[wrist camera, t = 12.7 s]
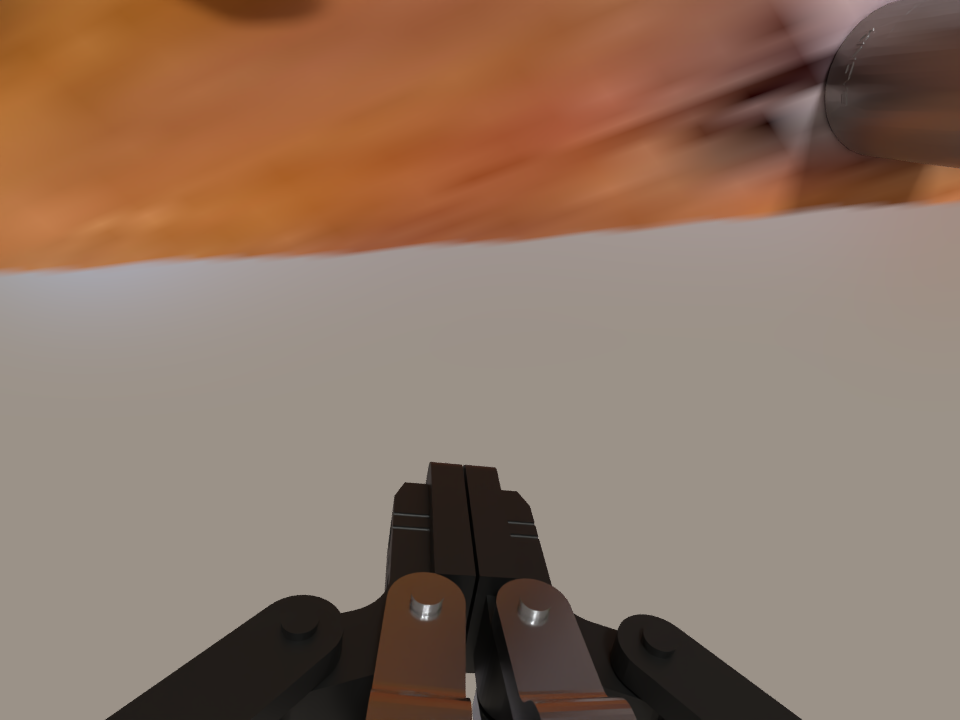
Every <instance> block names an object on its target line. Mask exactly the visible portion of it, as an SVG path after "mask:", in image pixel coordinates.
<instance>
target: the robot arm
mask: <svg viewBox="0 0 960 720" xmlns="http://www.w3.org/2000/svg"><path fill="white" fill-rule="evenodd" d="M825 106H826V114H827V118H828V121H829V124H830V126H831V129H832V131H833V132H834V134H835V135H836V137H837V138H838V140H839V141H840V142H841V143H842V144H844V145H845V146H846V147H847V148H848V149H850V150H852V151H854V152H856V153H858V154H861V155H866V156H872V157H879V158H887V159H894V160H902V161H908V162H915V163H923V164H930V165H938V166H946V167H953V168H960V0H899V1H896V2H892V3H889V4H887V5H885V6H883V7H881V8H879V9H877V10H875V11H874V12H872V13H871V14H870V15H868V16H867V17H866V18H865V19H863V20H862V21H861V22H860V23H859V24H858V25H857V26H856V27H855V28H854V29H853V30H852V32H851V33H850V34H849V35H848V36H847V38H846V39H845V41H844V42H843V44H842V45H841V47H840V48H839V50H838V51H837V54H836V56H835V58H834V61H833V63H832V65H831V67H830V71H829V75H828V79H827V83H826V92H825ZM385 581H386V582H385V592H384V594H383V595H382V596H381V597H380V598H379V599H377V600H376V601H375V602H373V603H372V604H370V605H368V606H366V607H364V608H361V609H357V610H354V611H349V612H345V613H340V612H339V610H338V609H337V608H336V607H335V606H334V605H333V604H332V603H330V602H329V601H327V600H324V599H322V598H320V597H316V596H311V595H297V596H290V597H287V598H283V599H281V600H278V601H276V602H274V603H273V604H271V605H270V606H268V607H267V608H265V609H264V610H262V611H261V612H260V613H258V614H257V615H256V616H254V617H252V618H251V619H249V620H248V621H247V622H245V623H244V624H242V625H241V626H240V627H238V628H237V629H235V630H234V631H232V632H231V633H229V634H228V635H226V636H225V637H224V638H222V639H221V640H219V641H218V642H216V643H215V644H213V645H212V646H211V647H209V648H208V649H206V650H205V651H204V652H202V653H201V654H199V655H198V656H196V657H195V658H193V659H192V660H190V661H189V662H188V663H186V664H185V665H183V666H182V667H180V668H179V669H178V670H176V671H175V672H173V673H172V674H171V675H169V676H168V677H166V678H165V679H163V680H162V681H160V682H159V683H157V684H156V685H155V686H153V687H152V688H151V689H149V690H148V691H146V692H144V693H143V694H142V695H140V696H139V697H137V698H136V699H134V700H133V701H132V702H130V703H129V704H127V705H126V706H124V707H123V708H121V709H120V710H119V711H117V712H116V713H114V714H113V715H112V716H110V717H109V718H107V719H106V720H472V714H473V720H802V719H800V718H799V717H798V716H796V715H795V714H794V713H792V712H791V711H790V710H788V709H787V708H786V707H784V706H783V705H782V704H780V703H779V702H777V701H776V700H775V699H773V698H772V697H771V696H769V695H768V694H766V693H765V692H764V691H763V690H761V689H760V688H759V687H757V686H756V685H755V684H753V683H752V682H750V681H749V680H748V679H746V678H745V677H744V676H742V675H741V674H740V673H738V672H737V671H736V670H734V669H733V668H732V667H730V666H729V665H727V664H726V663H725V662H723V661H722V660H721V659H719V658H718V657H717V656H715V655H714V654H713V653H711V652H710V651H709V650H707V649H706V648H704V647H703V646H702V645H700V644H699V643H698V642H696V641H695V640H694V639H692V638H691V637H690V636H688V635H687V634H686V633H684V632H683V631H681V630H680V629H679V628H677V627H676V626H674V625H673V624H671V623H670V622H668V621H666V620H664V619H661V618H659V617H655V616H651V615H633V616H630V617H628V618H626V619H625V620H623V622H621V624H620V626H619V628H618V630H615V629H611V628H608V627H605V626H602V625H599V624H596V623H593V622H590V621H587V620H585V619H583V618H581V617H579V616H577V615H575V614H574V613H573V611H572V609H571V606H570V604H569V602H568V600H567V599H566V598H565V596H564V595H563V594H562V593H561V592H560V591H558V590H557V589H556V588H554V587H553V586H552V585H551V581H550V577H549V574H548V570H547V567H546V563H545V559H544V556H543V552H542V548H541V545H540V541H539V539H538V534H537V530H536V527H535V526H534V519H533V516H532V512H531V508H530V506H529V505H528V504H527V503H526V501H525V500H524V499H523V498H522V497H521V495H520V494H519V493H518V492H517V491H504V490H501V488H500V483H499V479H498V473H497V469H496V468H495V467H483V466H472V465H464V466H462V465H459V464H448V463H436V462H430V463H429V468H428V473H427V480H426V484H419V483H406V482H405V483H404V484H403V486H402V487H401V488H400V489H399V491H398V492H397V493H396V495H395V497H394V504H393V512H392V520H391V527H390V535H389V543H388V551H387V566H386V580H385ZM466 673H475V677H476V687H477V688H476V692H475V696H474V701H473V706H472V708H471V700H470V698H466V694H465V674H466Z"/></svg>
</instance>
